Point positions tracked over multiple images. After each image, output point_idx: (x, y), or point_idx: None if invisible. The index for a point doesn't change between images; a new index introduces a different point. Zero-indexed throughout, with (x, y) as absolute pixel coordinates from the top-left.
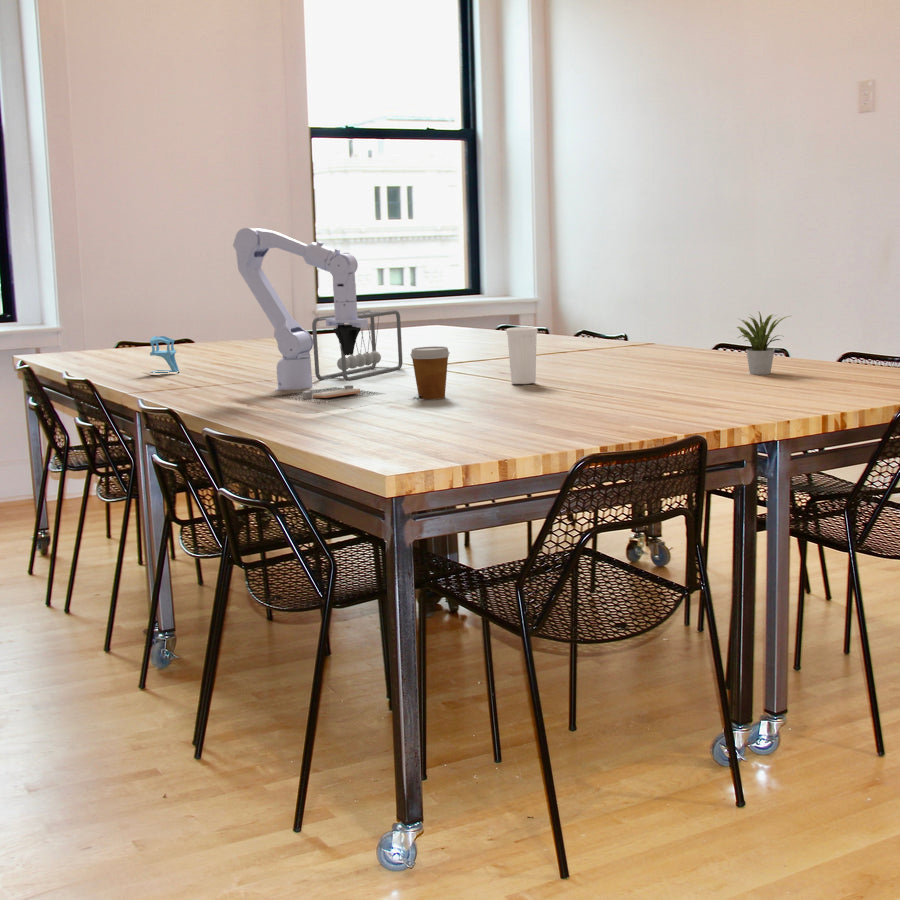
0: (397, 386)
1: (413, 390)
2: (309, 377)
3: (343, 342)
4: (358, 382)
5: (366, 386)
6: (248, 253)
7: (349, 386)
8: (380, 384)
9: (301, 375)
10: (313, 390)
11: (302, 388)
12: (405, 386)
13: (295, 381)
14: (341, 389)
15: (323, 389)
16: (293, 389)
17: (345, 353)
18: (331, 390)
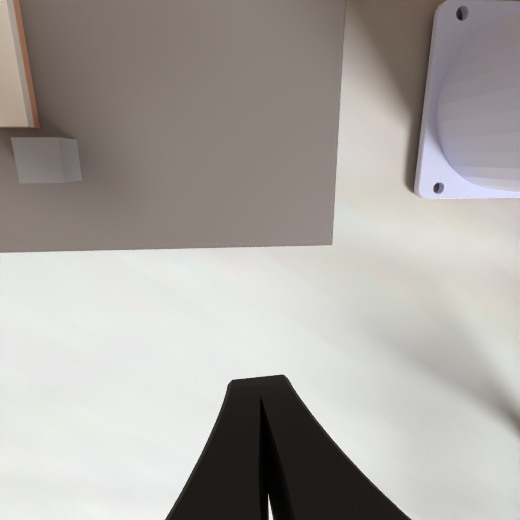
0: None
1: (4, 462)
2: (487, 135)
3: (251, 485)
4: (459, 458)
5: (320, 414)
6: None
7: (14, 150)
8: None
9: (515, 52)
10: (330, 75)
11: (450, 75)
12: (159, 504)
13: (513, 19)
14: (7, 77)
15: (309, 143)
16: (488, 26)
17: (247, 385)
18: (226, 144)
